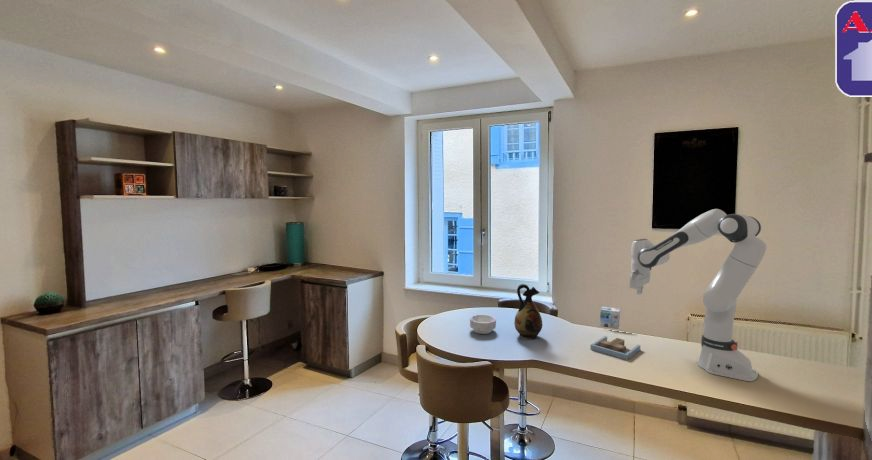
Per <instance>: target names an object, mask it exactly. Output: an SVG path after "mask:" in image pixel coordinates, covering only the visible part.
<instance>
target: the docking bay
mask: <svg viewBox="0 0 872 460" xmlns="http://www.w3.org/2000/svg"><path fill="white" fill-rule="evenodd" d="M602 340H605V341H608V336H606V335H605V336H602V337H601V338H600V339H598V340H596V341H595V342H593V343H591V344H590V351H594V352H598V353H601V354H605V355H608V356H611V357H615V358H618V359H622V360H625V361H628V360H629V359H630V358H632V357H633V356H634V355H636V354H637V353H638V352H640V351H641V345H640V344H637V345H636V346H634V347H633V348H630V350H628V351H626V354H624V353H621V352H617V351H614V350H610V349H607V348H603V347H600V346H599V342H600V341H602Z"/></svg>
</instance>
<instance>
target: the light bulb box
mask: <svg viewBox="0 0 872 460" xmlns="http://www.w3.org/2000/svg"><path fill="white" fill-rule="evenodd" d="M599 313H600V315H599V327H601V328H602V327H603V328H609V329H614V330H619V329H620V320H621V319H620V318H621V309H620V308H618V307H617V308H616V307H609V306H601V308H600V311H599Z"/></svg>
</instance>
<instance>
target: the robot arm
mask: <svg viewBox="0 0 872 460" xmlns="http://www.w3.org/2000/svg"><path fill="white" fill-rule="evenodd" d="M761 231H762V225H761V222H760V221H759V220H757V218H755V217H753V216H749V215H746V214H739V213H731V214H730V213H729V214H727V213H726V212H725V211H724V210H722V209H719V208H714V209H710V210H708V211H706V212H703V213H701V214H699V215H698V216H696V217H695V218H693V219H690V221H688V222H687V223H686V224H684V226H682V227H681V228H680V229H679V230H677V231H676V232H675V233H673V234H671V236H669V237H667V238H665V239H664V240H662V241H660V242H658V243H657V244H655V243H654V242H652V241H651V240H649V239H648V238H639V239H635V240H633V241H632V243H631V250H630V255H631V261H630V272H631V274H630V277H629V288H630V289H633V290H636V295H641V294H642V293H643V290H644V289H643V288H644V286H646V285H647V284H649V283H650V280H651V271H652V269H653V268H654V267H656V266H660V265H664V264H665V263H667V262H668V261H669V260H670V253H672V252H674V251H675V250H677V249H680V248H682V247H686V246H692V245H695V244H699V243H702V242H704V241H706V240H708V239H710V238H712V237H713V236H715V235H717V234H719V233H720V234H721V235H722V236H723V237H725V238H726V239H727V240H728V241H729V242H730V243H734V245H733V248H732V250H731V251H730V253H729V254H728V256H727V257H726V259H725V261H724V262H723V264H722V266H721V268H720V269H719V270H718V272H717V273H716V275H715V276H714V278H713V279H712V281H711V282H710V283H709V285H708V287H707V288H706V290H705V292H704V293H703V294H702V295H703V296H702V303H703V305H704V307H705V308H706V309H705V313H704V319H703V334H702V335H701V339H700V341H701V342H700V344H701V350H700V351H701V352H700V354H699V358H698V359H697V362H696V363H697V366H699V367H700V368H701V369H703V370H705V371H706V372H707V373H709V374H711V375H717V376H720V377H721V376H722V377H727V378H731V379H736V380H740V381H745V382H755V381H756V380H757V379H758V377H759V372H758V371H757V370H755V369H753V365H752V362H751V360H750V358H749V357H747V356H746V355H745V354H744V353H743V352H742V351H740V350H739V349H738V341H735V340H734V339H733V333H734V323H735V314H736V307H737V298H738V297H739V296H740V294H741V293H742V291H743V289H744V288H745V286H747V283H748V282H749V281H750V279H751V278H752V276H753V275H754V274H755V271H756V270H757V269H758V267H759V266H760V264H761V262H762V260H763V259H764V256H765V254H766V251H767V244H766V242H765V241H763V239H761V238H759V237H757V236H758V235H759V234H760V233H761Z"/></svg>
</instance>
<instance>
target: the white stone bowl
mask: <svg viewBox="0 0 872 460" xmlns="http://www.w3.org/2000/svg"><path fill="white" fill-rule="evenodd" d="M469 327H470V328H471V329H472V330H473V331H474V332H475V333H476V334H481V335H487V334H490V333H492V331H493V330H494V329H495V330H496V327H497V319H496V317H495V316H492V315H489V314H475V315H472V316H470V317H469Z"/></svg>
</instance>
